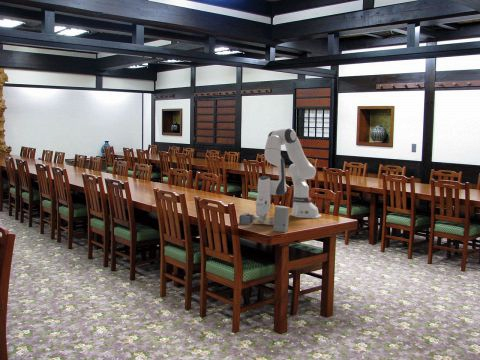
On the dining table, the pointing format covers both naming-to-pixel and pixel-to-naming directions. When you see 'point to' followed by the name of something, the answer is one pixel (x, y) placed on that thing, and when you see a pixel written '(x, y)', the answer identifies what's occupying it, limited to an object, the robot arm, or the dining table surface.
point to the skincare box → (281, 219)
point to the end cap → (246, 218)
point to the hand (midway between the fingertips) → (263, 220)
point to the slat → (266, 220)
